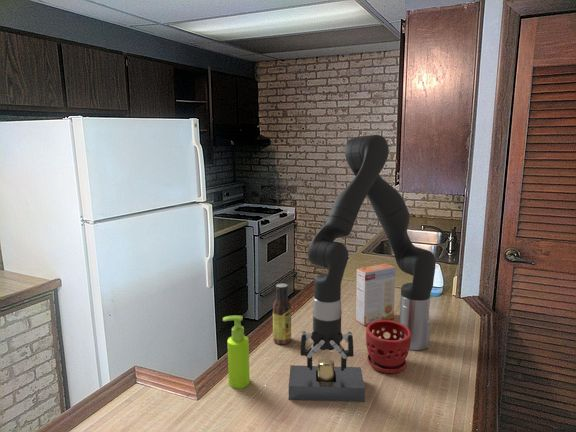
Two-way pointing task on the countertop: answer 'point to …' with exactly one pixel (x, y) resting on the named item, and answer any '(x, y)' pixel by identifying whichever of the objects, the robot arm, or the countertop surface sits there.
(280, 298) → the sauce bottle
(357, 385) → the jig
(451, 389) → the countertop surface
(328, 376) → the gold cylinder
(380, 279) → the cracker box
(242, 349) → the soap dispenser
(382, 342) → the plant pot
